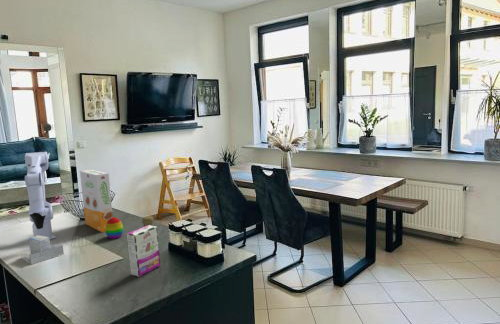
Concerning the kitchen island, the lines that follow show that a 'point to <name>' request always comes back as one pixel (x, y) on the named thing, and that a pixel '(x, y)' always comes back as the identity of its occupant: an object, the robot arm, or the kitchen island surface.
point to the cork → (147, 221)
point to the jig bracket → (43, 254)
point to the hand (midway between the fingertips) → (39, 228)
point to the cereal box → (96, 198)
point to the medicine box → (39, 243)
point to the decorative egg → (114, 228)
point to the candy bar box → (143, 250)
